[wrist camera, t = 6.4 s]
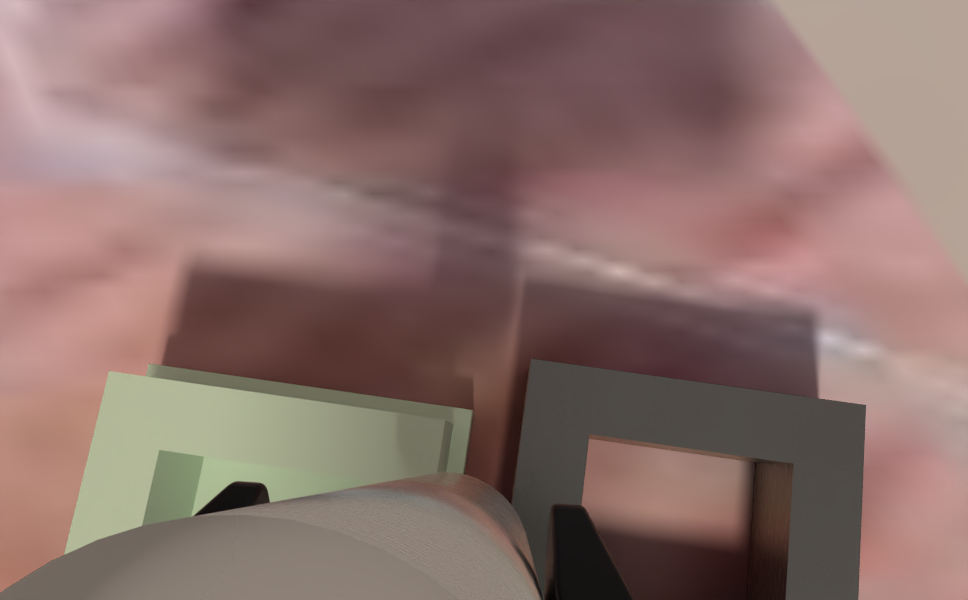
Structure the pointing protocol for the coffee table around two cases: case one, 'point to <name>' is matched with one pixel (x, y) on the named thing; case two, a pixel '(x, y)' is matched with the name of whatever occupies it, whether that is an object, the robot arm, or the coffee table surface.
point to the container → (247, 445)
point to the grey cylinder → (313, 550)
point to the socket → (714, 432)
